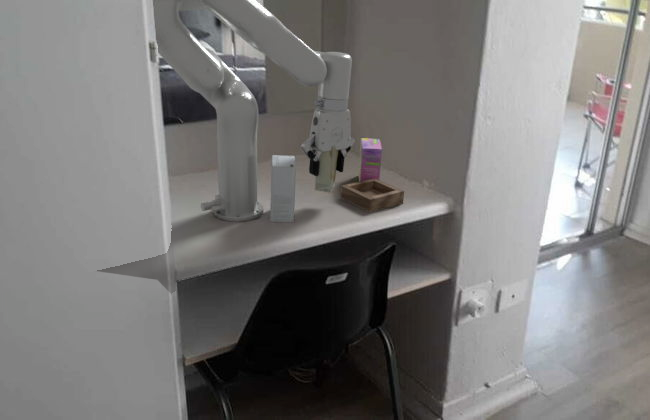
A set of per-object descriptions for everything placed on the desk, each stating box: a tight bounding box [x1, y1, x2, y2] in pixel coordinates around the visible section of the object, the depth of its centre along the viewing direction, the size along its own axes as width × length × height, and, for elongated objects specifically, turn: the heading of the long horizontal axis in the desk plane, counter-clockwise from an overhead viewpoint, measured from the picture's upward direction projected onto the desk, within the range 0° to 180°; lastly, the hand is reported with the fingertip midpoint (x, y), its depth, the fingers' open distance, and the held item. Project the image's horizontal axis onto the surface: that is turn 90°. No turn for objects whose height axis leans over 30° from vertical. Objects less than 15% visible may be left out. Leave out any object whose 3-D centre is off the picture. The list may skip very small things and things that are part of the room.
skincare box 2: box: [314, 146, 338, 194], centre depth 153 cm, size 6×4×12 cm
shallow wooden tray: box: [340, 178, 405, 213], centre depth 162 cm, size 12×12×4 cm
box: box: [357, 137, 383, 182], centre depth 174 cm, size 10×6×12 cm, turn 179°
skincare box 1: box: [269, 154, 297, 223], centre depth 148 cm, size 8×6×15 cm
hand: (326, 172), depth 154 cm, fingers closed on skincare box 2, 7 cm apart
